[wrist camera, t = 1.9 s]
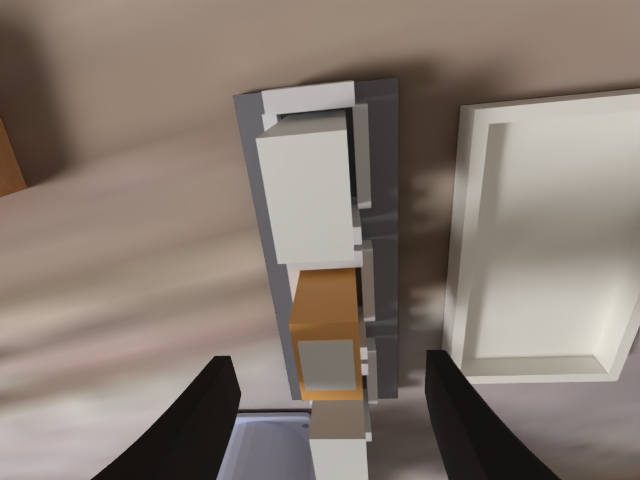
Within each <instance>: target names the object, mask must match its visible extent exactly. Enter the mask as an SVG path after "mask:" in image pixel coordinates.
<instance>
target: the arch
mask: <svg viewBox="0 0 640 480" xmlns="http://www.w3.org/2000/svg"><path fill="white" fill-rule="evenodd" d="M24 189H27V186H26V183H25V181H24V178H23V176H22V173H21V170H20V168H19V165H18V162H17V160H16V157H15V154H14V152H13V149H12V146H11V144H10V141H9V138H8V136H7V133H6V130H5V128H4V125H3V123H2V120H1V117H0V197H2V196H5V195H8V194H11V193H14V192H17V191H20V190H24Z"/></svg>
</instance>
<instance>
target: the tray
mask: <svg viewBox="0 0 640 480" xmlns="http://www.w3.org/2000/svg"><path fill="white" fill-rule="evenodd" d="M639 326H640V88H637V89H626V90H616V91H606V92H596V93H586V94H575V95H565V96H555V97H545V98H535V99H525V100H514V101H504V102H494V103H484V104H474V105H463V106H460V118H459V131H458V144H457V157H456V170H455V182H454V195H453V208H452V221H451V234H450V246H449V259H448V272H447V285H446V298H445V310H444V323H443V336H442V349H441V350H446V351H447V352H448V354H449V355H450V357H451V358H452V359H453V361H454V362H455V364H456V365H457V367H458V368H459V369H460V371H461V372H462V373H463V375H464V376H465V377H466V379H467V380H468V381H469V383H470V384H486V383H538V382H590V381H617V380H618V378H619V375H620V373H621V371H622V368H623V366H624V363H625V361H626V358H627V356H628V353H629V351H630V348H631V346H632V343H633V341H634V338H635V336H636V333H637V331H638V328H639Z"/></svg>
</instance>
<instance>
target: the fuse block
mask: <svg viewBox="0 0 640 480" xmlns="http://www.w3.org/2000/svg"><path fill="white" fill-rule="evenodd" d="M233 99H234V104H235V109H236V115H237V120H238V125H239V130H240V135H241V140H242V145H243V150H244V155H245V160H246V166H247V171H248V176H249V181H250V186H251V191H252V196H253V201H254V206H255V211H256V217H257V222H258V227H259V232H260V237H261V242H262V247H263V252H264V257H265V262H266V268H267V273H268V278H269V283H270V288H271V293H272V298H273V303H274V308H275V313H276V319H277V324H278V329H279V334H280V339H281V344H282V349H283V354H284V359H285V364H286V370H287V375H288V380H289V385H290V390H291V395H292V400H302V397H301V391H300V386H299V380H298V374H297V369H296V363H295V358H294V352H293V346H292V341H291V335H290V330H289V320H290V315H291V311H292V306H293V302H294V297H295V292H296V288H297V283H298V279H299V274H300V270H317V269H336V268H354V267H355V275H356V291H357V307H358V322H359V338H360V355H361V371H362V387H363V403H364V419H365V435H366V441H372V435H371V421H370V409H369V404H378V399H389V398H398V116H399V78H387V79H378V80H369V81H359V82H354V81H353V80H348V81H339V82H330V83H320V84H311V85H302V86H293V87H284V88H275V89H270V90H265V91H261V92H258V93H249V94H239V95H233ZM343 109H345V115H346V129H347V145H348V161H349V178H350V194H351V210H352V226H353V242H354V258H355V260H343V261H325V262H307V263H290V264H278V262H277V256H276V251H275V245H274V240H273V234H272V228H271V223H270V217H269V211H268V206H267V200H266V195H265V189H264V183H263V178H262V172H261V167H260V161H259V155H258V150H257V144H256V138H257V137H258V136H260V135H261V134H262V133H264V132H265V131H266V130H268V129H269V128H271V127H272V126H273V125H275V124H276V123H277V122H279V121H280V120H282V119H283V118H284V117H286V116H287V115H293V114H303V113H313V112H323V111H333V110H343ZM312 402H313V401H309V404H310V405H312Z"/></svg>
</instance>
